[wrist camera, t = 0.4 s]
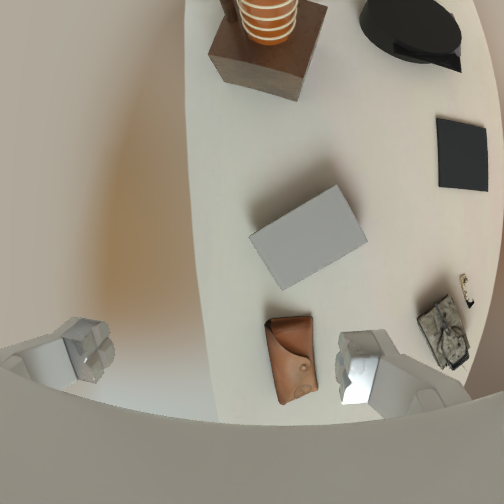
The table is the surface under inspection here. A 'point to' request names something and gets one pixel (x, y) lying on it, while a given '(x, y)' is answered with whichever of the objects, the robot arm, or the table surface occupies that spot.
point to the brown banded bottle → (268, 19)
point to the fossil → (463, 281)
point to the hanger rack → (267, 52)
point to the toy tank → (445, 334)
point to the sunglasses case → (291, 356)
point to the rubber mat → (462, 155)
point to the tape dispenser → (414, 31)
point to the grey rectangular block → (308, 237)
